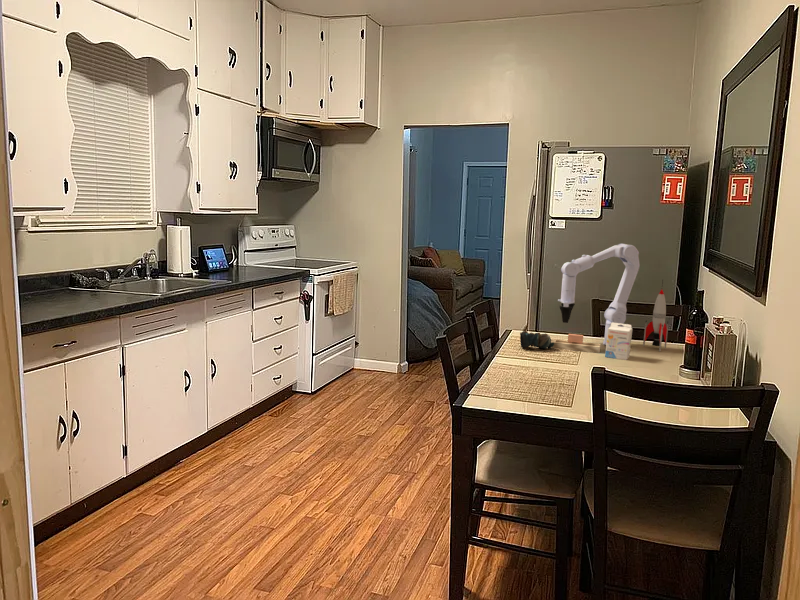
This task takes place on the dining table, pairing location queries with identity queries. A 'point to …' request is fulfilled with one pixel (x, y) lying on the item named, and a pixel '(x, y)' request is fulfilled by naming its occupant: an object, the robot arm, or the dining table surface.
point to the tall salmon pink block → (575, 338)
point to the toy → (657, 322)
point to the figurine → (535, 340)
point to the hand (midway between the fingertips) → (565, 321)
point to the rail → (576, 346)
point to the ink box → (618, 341)
